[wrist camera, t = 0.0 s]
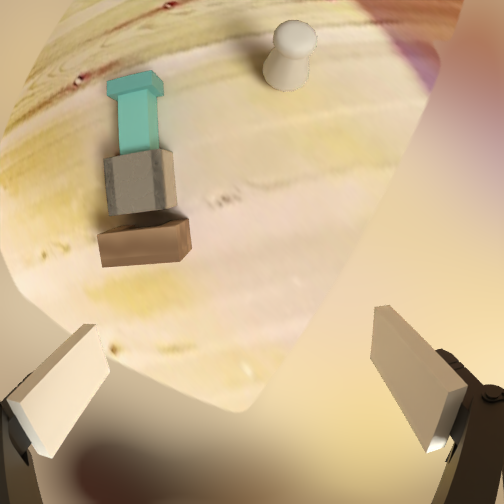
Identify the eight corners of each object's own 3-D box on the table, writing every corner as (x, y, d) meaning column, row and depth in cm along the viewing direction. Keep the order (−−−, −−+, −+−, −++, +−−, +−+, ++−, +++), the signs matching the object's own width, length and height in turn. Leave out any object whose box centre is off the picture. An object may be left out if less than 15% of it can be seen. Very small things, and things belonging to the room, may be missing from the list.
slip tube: (122, 91, 36) (107, 81, 31) (163, 82, 36) (151, 70, 31) (127, 185, 39) (111, 186, 34) (169, 179, 39) (157, 179, 34)
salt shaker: (291, 104, 37) (307, 71, 24) (253, 81, 36) (253, 40, 24) (313, 72, 36) (337, 30, 23) (277, 50, 35) (286, 2, 23)
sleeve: (121, 161, 39) (103, 158, 33) (172, 152, 38) (160, 148, 33) (126, 211, 40) (109, 216, 35) (177, 205, 40) (165, 208, 34)
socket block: (119, 226, 40) (96, 234, 34) (188, 218, 40) (175, 226, 33) (124, 254, 41) (102, 267, 35) (191, 248, 41) (180, 261, 34)
